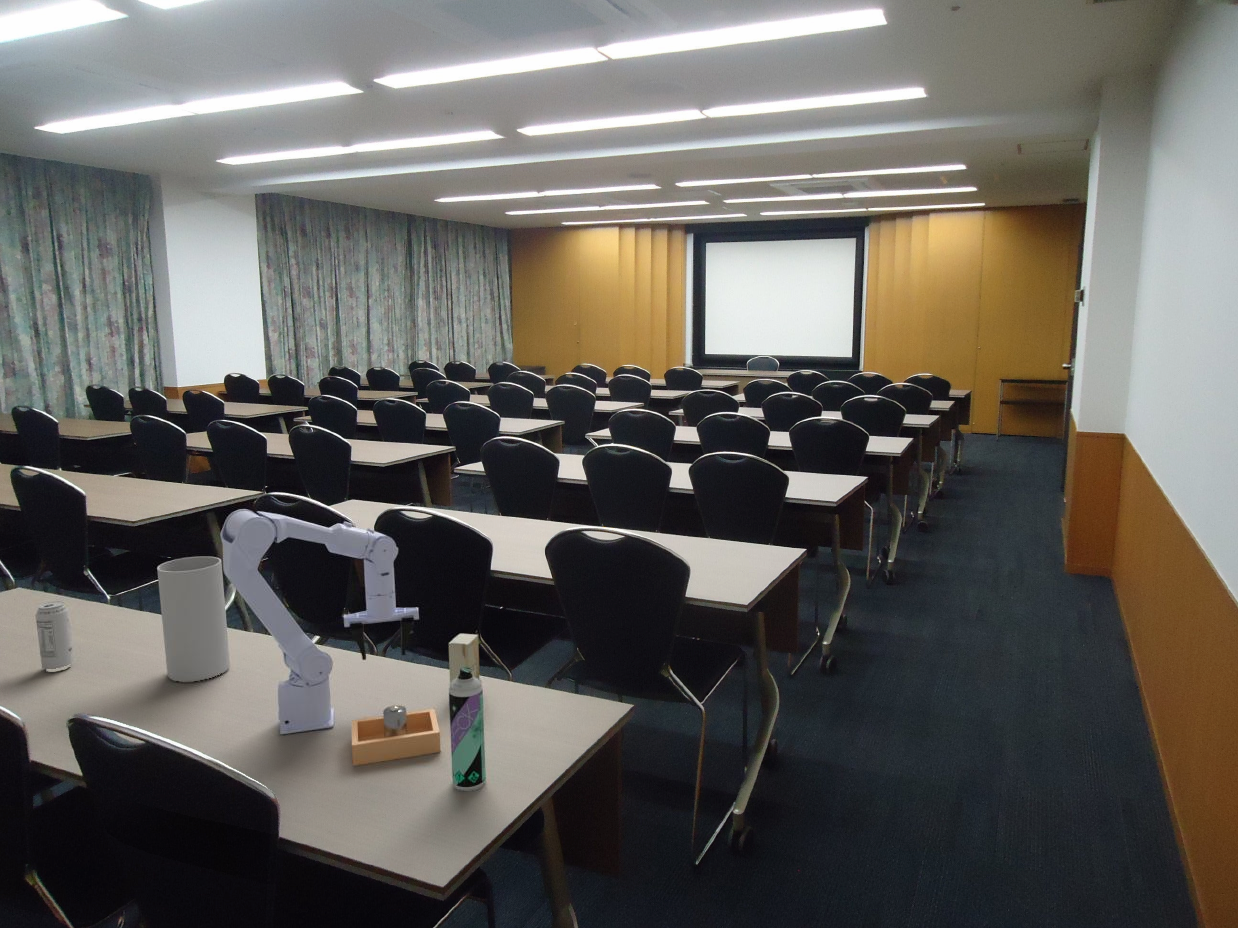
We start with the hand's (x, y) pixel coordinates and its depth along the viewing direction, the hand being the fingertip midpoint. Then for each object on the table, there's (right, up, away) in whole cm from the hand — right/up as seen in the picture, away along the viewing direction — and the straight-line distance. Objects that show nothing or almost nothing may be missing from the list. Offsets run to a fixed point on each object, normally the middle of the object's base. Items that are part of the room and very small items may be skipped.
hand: (383, 655), depth 170 cm
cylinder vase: (-46, -8, +16) cm, 49 cm away
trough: (+7, -12, -18) cm, 23 cm away
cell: (+7, -12, -18) cm, 23 cm away
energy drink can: (-79, -7, +19) cm, 82 cm away
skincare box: (+16, -9, +4) cm, 19 cm away
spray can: (+23, -14, -31) cm, 41 cm away
